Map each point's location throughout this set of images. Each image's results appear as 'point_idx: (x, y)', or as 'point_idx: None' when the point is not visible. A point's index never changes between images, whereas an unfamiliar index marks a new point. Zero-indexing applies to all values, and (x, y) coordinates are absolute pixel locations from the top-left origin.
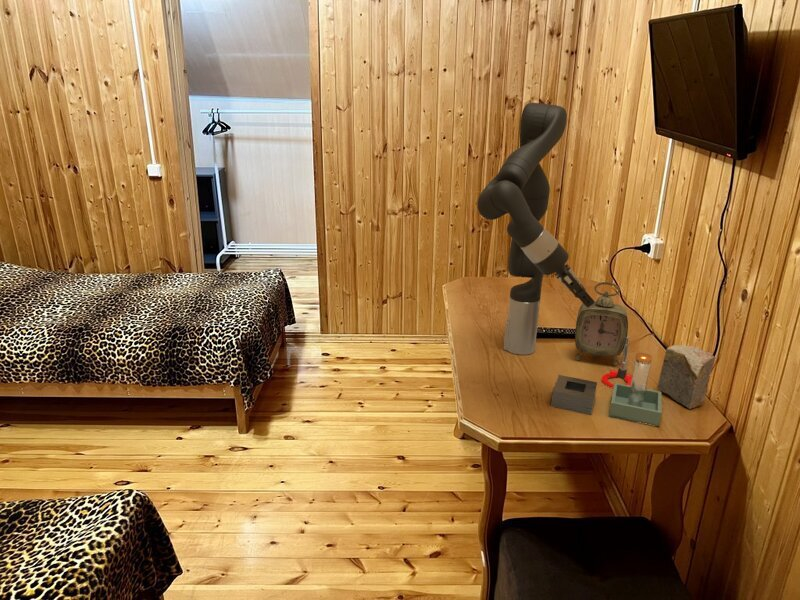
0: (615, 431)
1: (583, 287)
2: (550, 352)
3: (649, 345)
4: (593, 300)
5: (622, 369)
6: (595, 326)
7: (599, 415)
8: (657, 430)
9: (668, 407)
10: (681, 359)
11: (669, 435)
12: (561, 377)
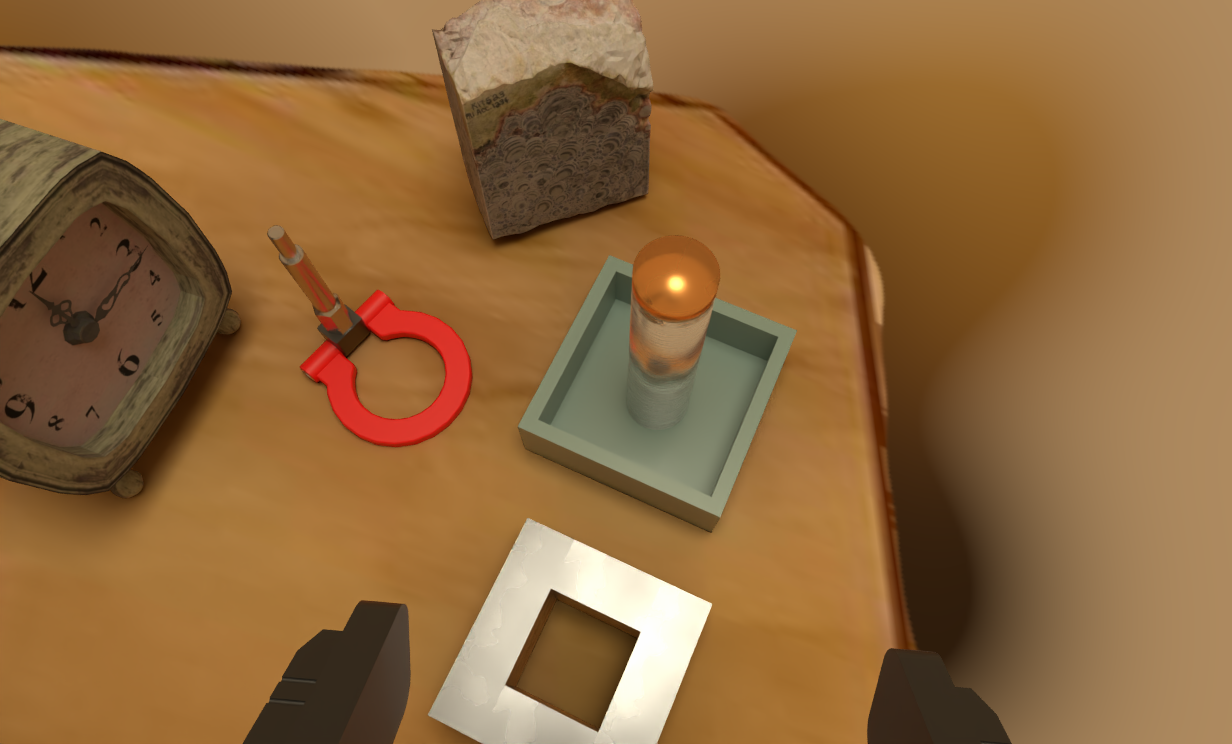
0: (833, 548)
1: (388, 639)
2: (4, 615)
3: (62, 104)
4: (943, 669)
5: (347, 326)
6: (39, 349)
7: (702, 573)
8: (805, 372)
9: (624, 258)
10: (559, 88)
11: (837, 343)
12: (463, 709)
